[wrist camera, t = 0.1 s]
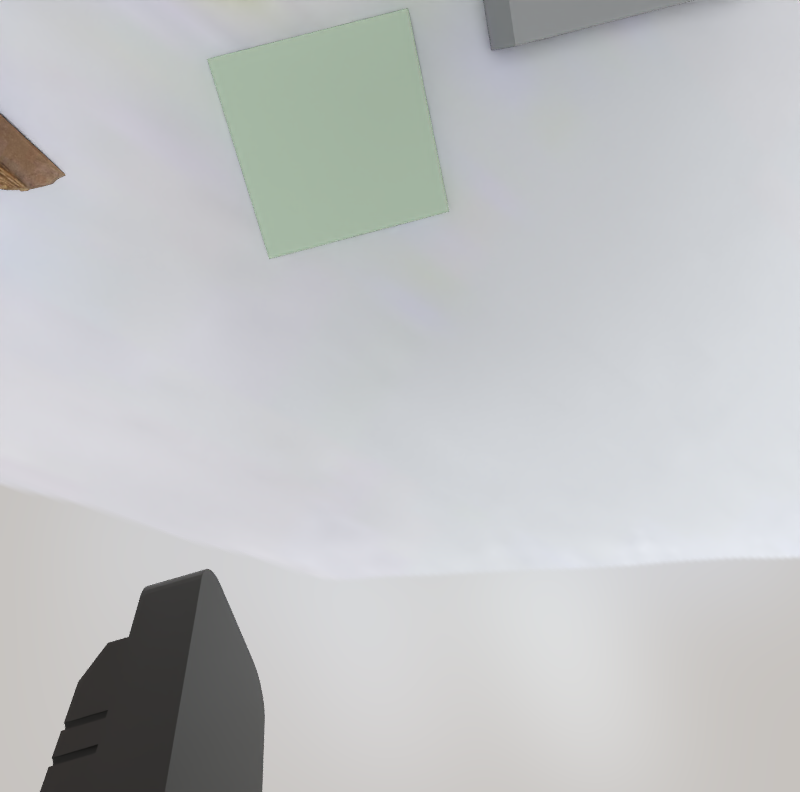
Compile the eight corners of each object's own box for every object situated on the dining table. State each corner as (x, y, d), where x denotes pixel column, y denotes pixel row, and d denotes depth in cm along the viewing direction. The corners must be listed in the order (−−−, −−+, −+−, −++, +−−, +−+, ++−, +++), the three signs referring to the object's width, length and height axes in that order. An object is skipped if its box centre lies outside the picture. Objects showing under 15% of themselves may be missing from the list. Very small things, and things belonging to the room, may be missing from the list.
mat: (208, 59, 33) (207, 59, 32) (405, 9, 33) (407, 8, 32) (269, 256, 36) (269, 258, 36) (446, 209, 37) (449, 211, 36)
